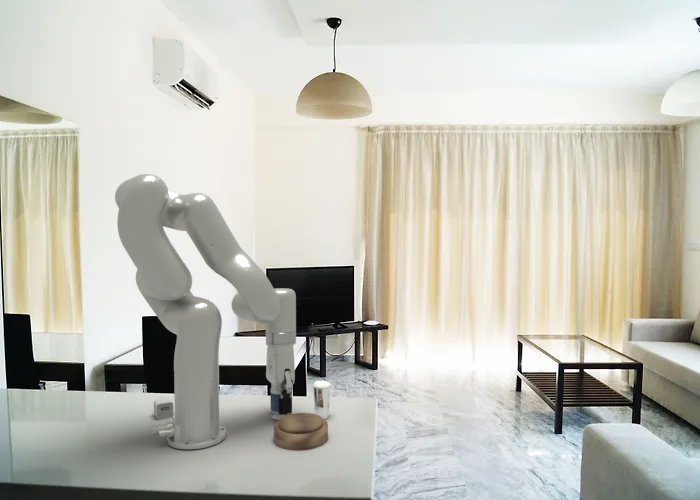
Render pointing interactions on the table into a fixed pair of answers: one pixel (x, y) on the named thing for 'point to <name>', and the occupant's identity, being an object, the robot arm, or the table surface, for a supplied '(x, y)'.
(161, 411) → the usb wall charger
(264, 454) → the table surface
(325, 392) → the milkshake
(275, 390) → the pill bottle
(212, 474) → the table surface
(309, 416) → the walnut stand
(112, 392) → the table surface
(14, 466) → the table surface
